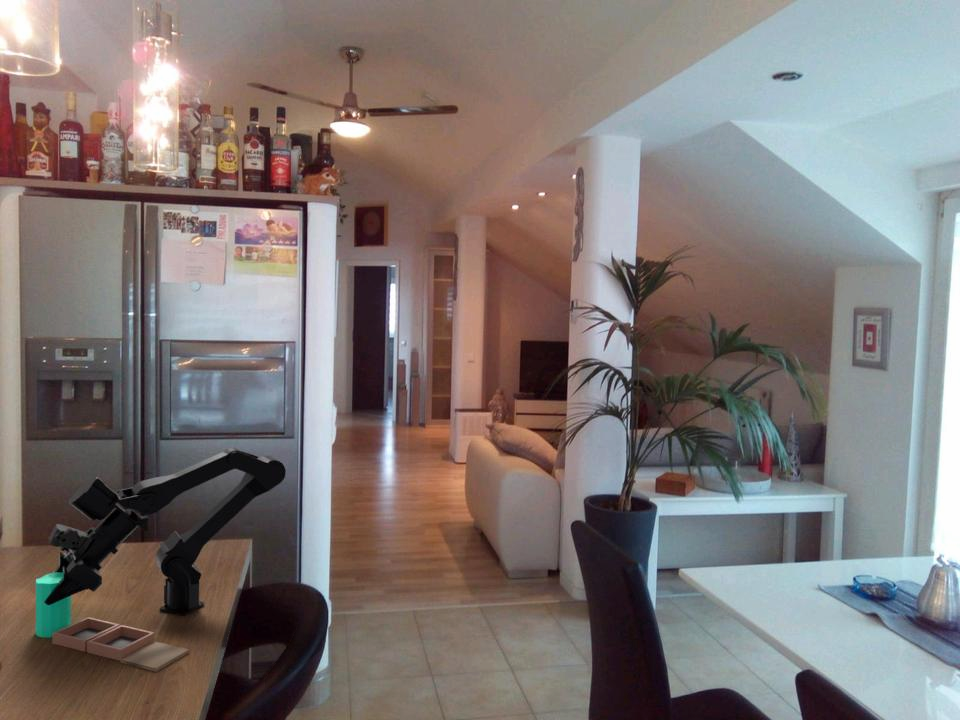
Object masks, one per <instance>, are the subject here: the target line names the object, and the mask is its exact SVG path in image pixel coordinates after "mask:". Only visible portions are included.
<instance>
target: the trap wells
mask: <svg viewBox="0 0 960 720" xmlns="http://www.w3.org/2000/svg"><path fill="white" fill-rule="evenodd" d="M155 634H156V633H155V632H153V631H149V630H144V629H140V628H137V627H132V626H129V625H128V626H127V625H124V624H123V625H122V624H119V623H117V622H116V623H115V622H111V621H106V620H102V619H98V618H94V617H89V616H88V617H85V618H83V619H80V620H79V621H77V622H74V623H71V625H69V626H67V627H65V628H63V629H60V630H58V631H56V632H54V633H52V637H51V638H52V640H51V641H52V643H51V644H53V645H57V646H61V647H66V648H68V649H73V650H76V651H80V652H86V653H89V654H92V655H96V656H100V657H104V658H108V659H113V660H116V661H120V662H121V659H123V658H124V657H126V656H128V655H130V654H132V653H134V652H136V651H138V650H139V649H141V648H143V647H145V646H147V645H149V644H151V643H153V642H154V641H155V638H156V637H155ZM155 642H156V641H155Z"/></svg>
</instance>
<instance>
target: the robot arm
mask: <svg viewBox="0 0 960 720" xmlns="http://www.w3.org/2000/svg"><path fill="white" fill-rule="evenodd" d="M232 470H238V471H241V472H244V475H243V477H242V479H241V480H240V482H239V484H237V486H235V487H234V488H233V489H232V490H231V491H230V492H229V493H228V494H227V495H226V496H225V497H224V498H222V499H221V500H220V501H219V502H218V503H217V504H216V505H215V506H214V507H213V508H212V509H211V510H209V512H207V513H206V514H205V515H204V516H203V517H202V518H201V519H199V521H198V522H196V523H195V524H194V525H193V526H192V527H191V528H190V529H189V530H187V531H185V532H183V533H181V534H179V533H178V532H177V531H176V530H173V532H172V533H171V534H170V535H169V536H168V537H167V539H165V540H164V541H162V542H160V543H159V548H158V549H157V551H156V552H155V562H156V563H155V564H156V565H157V566H158V568H159V570H160V572H161V573H162V575H164V576H165V577H166V578H165V583H164V586H163V605H162V606H159V611H162V612H166V613H171V614H175V615H179V616H185V615H187V614H188V613H191V612H192V611H195V610H197V609H198V608H201V607H202V606H204V605H205V602H204V601H200V579H201V578H202V573H201V571H200V570H199V569H198V568H197V565H195V562H196V561H197V559H198V557H199V555H201V552H202V549H203V548H204V547H205V546H206V545H207V544H208V543H209V542H210V540H212V539H213V538H214V537H215V536H216V535H217V534H218V533H219V532H221V530H223V529H224V528H225V527H226V525H228V524H229V523H230V522H231V521H232V520H233V519H234V518H235V517H236V516H237V515H239V513H240V512H241V511H242V510H244V509H245V508H246V507H247V506H248V505H249V504H250V503H251V502H252V501H253V500H255V498H258V497H259V496H262V495H264V494H266V493H268V492H270V491H271V490H273V489H274V488H276V487H277V486H278V485H280V484H281V483H283V481H284V479H285V477H286V473H287V472H286V467H285V465H284V463H282V462H281V461H280V460H278V459H276V458H275V457H273V456H272V455H271V456H270V455H265V454H263V455H260V456H257V455H255V454H252V453H249V452H246V451H241V450H239V449H237V448H236V447H229V448H226V449H225V450H223V451H221V452H219V453H217V454H215V455H213V456H210V457H208V458H206V459H203V460H201V461H198V462H197V463H195V464H192V465H190V466H188V467H186V468H184V469H181V470H179V471H177V472H174V473H173V474H168V475H163V476H155V477H152V478H149V479H144V480H141V481H138V482H137V483H136V484H134V485H133V486H132V487H129V488H128V487H127V488H123V489H117V490H113V489H112V488H111V487H109V486H108V485H106V484H105V483H104V481H103V480H102V479H101V478H100V477H98V476H95V477H94V478H93V479H92V480H90V481H88V482H87V483H85V484H84V485H81V486H80V487H79V488H78V489H77V490H76V491H74V493H73V495H72V496H71V497H70V498H69V500H68V504H69V505H71V506H72V507H73V508H75V510H77V511H79V513H81V514H82V515H84V516H85V517H86V518H88V519H89V520H90V521H92V522H93V521H95V520H97V521H101V522H100V523H99V524H98V525H97V526H96V527H94V526H92V527H89V528H88V529H87V530H85V531H83V530H80V529H78V528H73V527H72V526H67V525H65V524H64V525H63V524H60V523H56V524H55V525H54V527H53V529H52V531H51V533H50V535H49V537H48V539H47V540H48V541H49V545H50V546H53V547H56V548H58V547H59V549H60V551H62V552H64V553H62V552H58V566H57V567H56V569H55V570H54V573H56V572H61V573H63V577H62V579H61V580H60V581H59V583H58V584H57V585H56V587H55V588H54V589H53V591H52V592H51V593H50V595H49V596H48V597H47V598H46V600H45V604H47V605H51V604H53V603H55V602H58V601H60V600H62V599H64V598H66V597H69V596H71V597H72V596H73V595H75V594H78V593H80V592H82V591H85V590H90V591H91V592H96V591H97V590H98V589H99V587H101V586H102V584H103V577H102V574H101V573H100V570H101V568H103V567H102V563H103V562H104V561H105V560H106V559H108V557H109V556H111V554H112V555H116V554H117V553H118V552H119V549H118V547H119V546H120V545H121V544H122V543H123V542H124V541H125V540H126V539H127V538H128V537H129V536H130V535H131V534H132V533H133V532H134V531H135V530H137V528H140V529H141V530H142V531H143V532H145V533H147V532H148V531H149V521H150V518H149V517H148V516H149V515H154V514H155V513H157V512H159V511H160V510H162V509H163V508H165V507H166V506H168V505H170V504H171V503H172V502H173V501H174V500H175V499H177V497H178V496H180V495H181V494H183V493H185V492H187V491H189V490H192V489H194V488H196V487H198V486H200V485H202V484H204V483H207V482H208V481H211V480H213V479H215V478H217V477H220V476H222V475H224V474H226V473H228V472H231V471H232ZM120 505H121V506H120ZM135 510H136V511H137V512H139V513H140V514H143V515H140V514H139V513H137V512H136V511H135Z"/></svg>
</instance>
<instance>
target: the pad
mask: <svg viewBox="0 0 960 720" xmlns="http://www.w3.org/2000/svg"><path fill="white" fill-rule="evenodd" d="M189 652H190V649H187V648H184V647H180V646H177V645H176V646H175V645H171V644H167V643H163V642H158V641H154V642H153V643H151V644H149V645H147V646H145V647H143V648H141V649H139V650H138V651H136V652H134V653H132V654H130V655H128V656H126V657H124V658H123V659H121V661H120V663H121V664H124V665H128V666H133V667H136V668H139V669H143V670H148V671H151V672H156V673H157V672H159V671H160V670H162V669H163V668H165V667H166V666H169V665H170V664H172V663H174V662H175V661H177V660H179V659H180V658H182V657H184V656H186V655H188V654H190V653H189Z"/></svg>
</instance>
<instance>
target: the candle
mask: <svg viewBox="0 0 960 720" xmlns="http://www.w3.org/2000/svg"><path fill="white" fill-rule="evenodd" d="M52 571H53V572H51V573H46V574H45V575H43V576H41V577H39V578H36V579H35V634H36V636H37V637H40V638H52V633H54V632H56V631H58V630H60V629H63V628H65V627H67V626H69V625H72V595H71V596H69V597H66V598H64V599H62V600H60V601H58V602H55V603H53V604H51V605H47V604H45V600H46V598H47V597H48V596H49V595H50V593H51V592H52V591H53V589H54V588H55V587H56V585H57V584H58V583H59V581H60V580H61V579H62V577H63V573H61V572H56V573H54V572H55V570H54V569H53V570H52Z"/></svg>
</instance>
